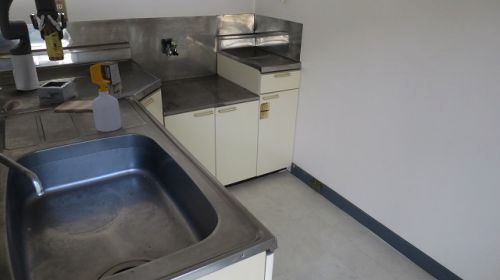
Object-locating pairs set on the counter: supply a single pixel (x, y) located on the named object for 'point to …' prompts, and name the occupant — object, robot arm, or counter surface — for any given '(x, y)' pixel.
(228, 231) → the counter surface
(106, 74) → the coffee box
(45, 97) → the grey open box
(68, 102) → the walnut board
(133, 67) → the counter surface
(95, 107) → the spray bottle
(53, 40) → the sauce bottle
